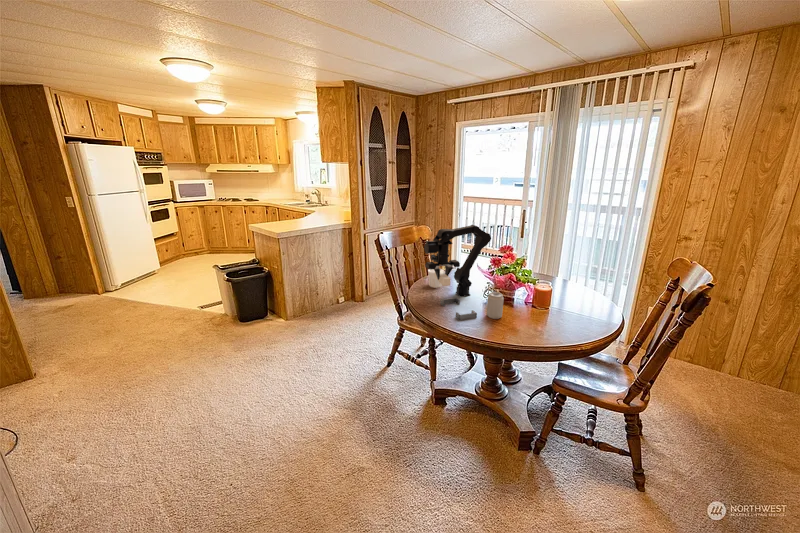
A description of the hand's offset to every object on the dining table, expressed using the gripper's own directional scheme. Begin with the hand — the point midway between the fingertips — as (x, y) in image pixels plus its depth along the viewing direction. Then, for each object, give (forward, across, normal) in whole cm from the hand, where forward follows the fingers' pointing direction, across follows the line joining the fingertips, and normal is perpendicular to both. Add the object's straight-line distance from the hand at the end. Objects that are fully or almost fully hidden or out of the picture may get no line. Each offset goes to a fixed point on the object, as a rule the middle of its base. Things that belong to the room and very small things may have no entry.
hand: (442, 279), depth 187 cm
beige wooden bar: (+1, 0, 0) cm, 1 cm away
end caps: (+11, 0, +20) cm, 23 cm away
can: (+11, -14, +32) cm, 37 cm away
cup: (+11, -5, -19) cm, 23 cm away
